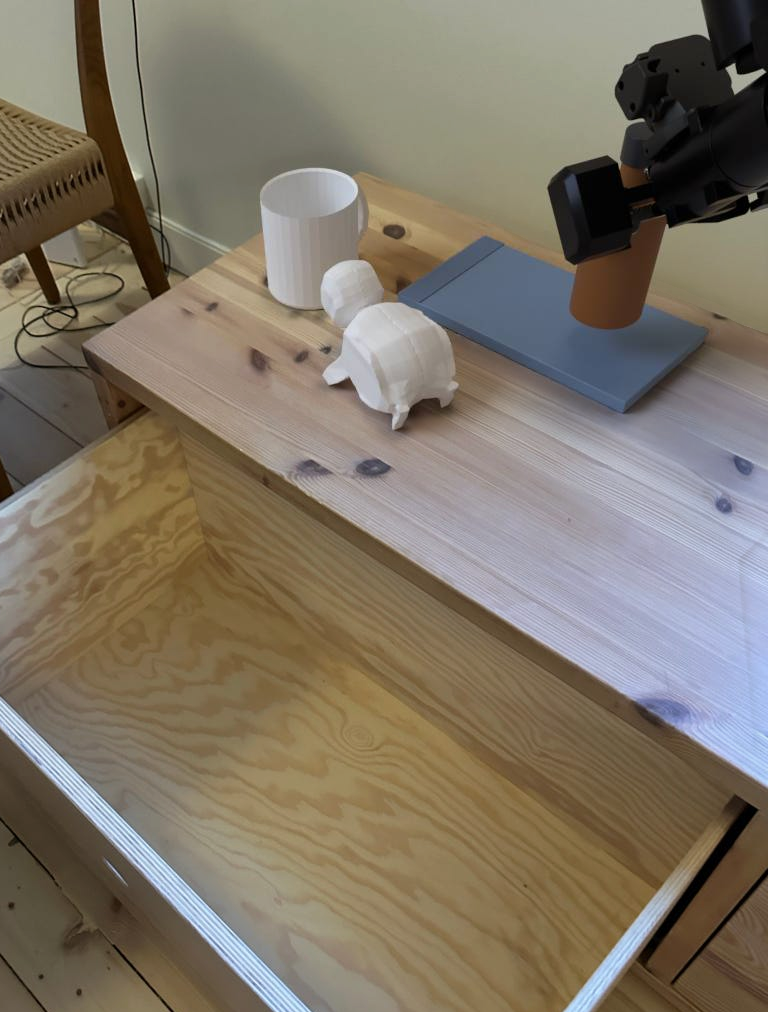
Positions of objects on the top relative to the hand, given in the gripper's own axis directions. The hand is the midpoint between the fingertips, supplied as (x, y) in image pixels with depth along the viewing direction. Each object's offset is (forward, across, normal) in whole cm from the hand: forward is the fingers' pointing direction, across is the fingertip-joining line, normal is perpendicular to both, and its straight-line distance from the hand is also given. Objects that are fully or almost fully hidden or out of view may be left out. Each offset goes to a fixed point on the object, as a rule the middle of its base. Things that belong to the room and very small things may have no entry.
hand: (613, 227), depth 72 cm
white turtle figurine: (+11, +19, +5) cm, 22 cm away
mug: (+22, +17, -7) cm, 29 cm away
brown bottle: (+4, 0, +6) cm, 7 cm away
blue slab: (+11, +1, +4) cm, 12 cm away
